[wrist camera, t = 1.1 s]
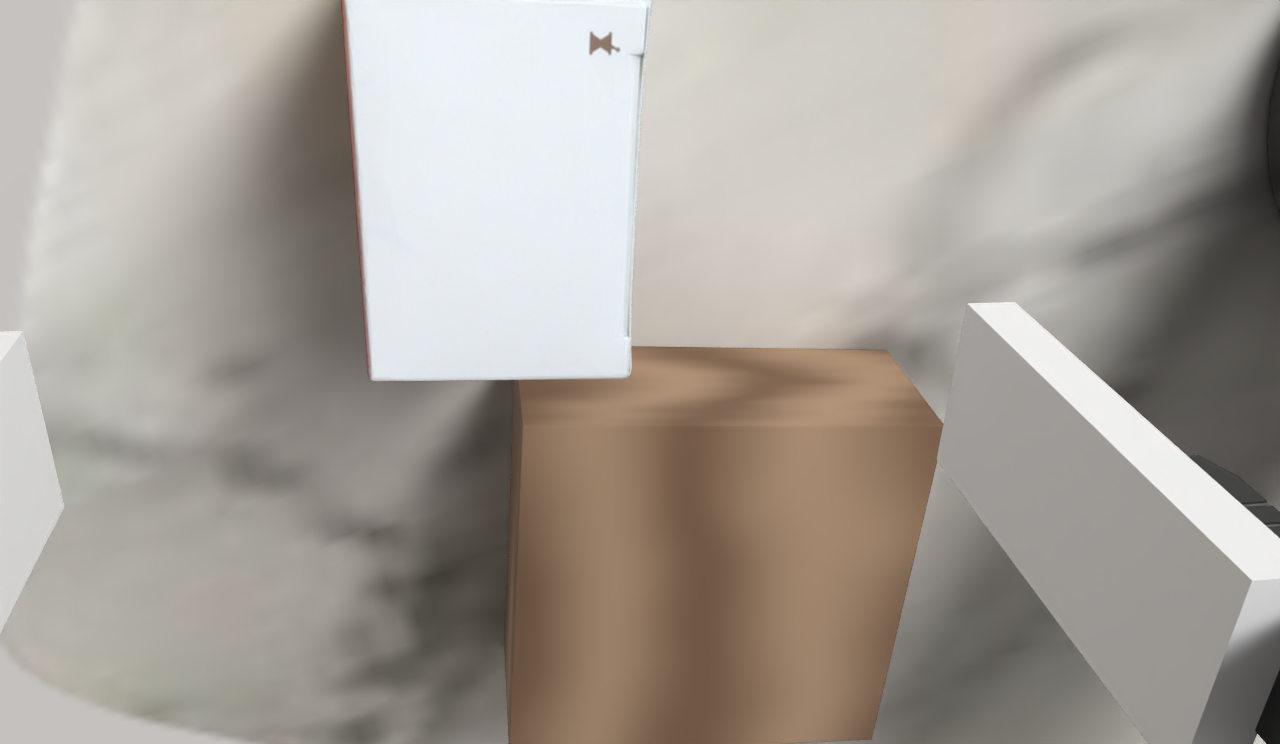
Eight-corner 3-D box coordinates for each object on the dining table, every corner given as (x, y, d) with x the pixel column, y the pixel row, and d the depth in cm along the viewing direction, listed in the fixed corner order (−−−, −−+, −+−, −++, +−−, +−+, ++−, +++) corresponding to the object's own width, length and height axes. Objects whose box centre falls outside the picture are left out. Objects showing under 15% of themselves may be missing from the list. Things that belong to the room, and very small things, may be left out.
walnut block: (886, 350, 36) (945, 426, 32) (828, 639, 42) (871, 739, 37) (515, 345, 34) (523, 425, 30) (504, 649, 40) (509, 755, 35)
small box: (376, -82, 28) (333, -24, 19) (595, -72, 29) (656, -12, 20) (390, 218, 32) (360, 390, 23) (584, 220, 33) (633, 386, 23)
